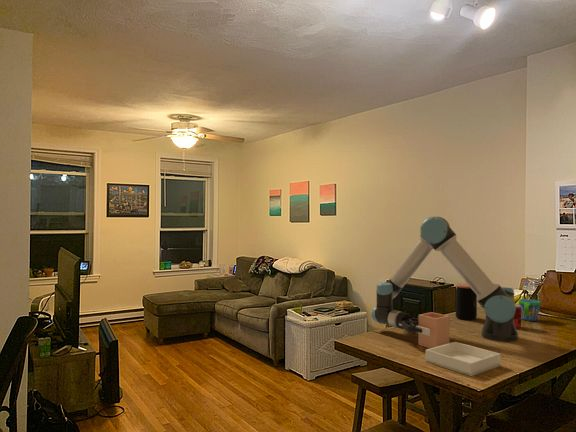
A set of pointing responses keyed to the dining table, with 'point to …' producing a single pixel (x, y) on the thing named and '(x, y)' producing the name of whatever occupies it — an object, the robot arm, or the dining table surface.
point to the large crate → (462, 358)
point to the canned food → (517, 316)
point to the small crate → (434, 329)
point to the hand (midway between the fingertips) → (439, 329)
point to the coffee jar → (465, 302)
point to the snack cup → (529, 309)
